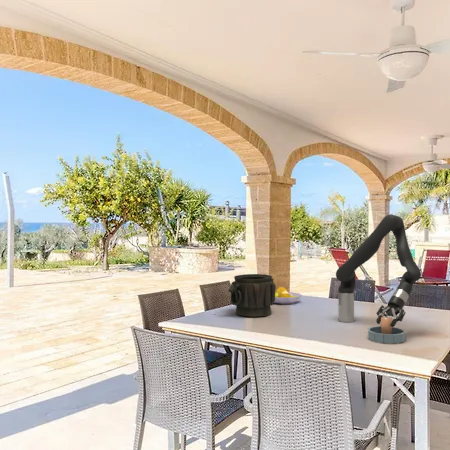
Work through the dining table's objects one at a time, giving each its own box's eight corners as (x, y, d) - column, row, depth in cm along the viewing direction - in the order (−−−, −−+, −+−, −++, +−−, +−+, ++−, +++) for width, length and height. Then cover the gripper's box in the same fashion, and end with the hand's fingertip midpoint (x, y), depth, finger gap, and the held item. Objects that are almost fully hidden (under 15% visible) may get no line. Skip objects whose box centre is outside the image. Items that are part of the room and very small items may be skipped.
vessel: (225, 318, 288) (224, 279, 288) (236, 308, 319) (235, 273, 319) (273, 320, 281) (272, 279, 281) (279, 309, 312) (278, 273, 312)
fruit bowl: (306, 301, 344) (306, 286, 344) (292, 307, 321) (292, 291, 321) (273, 298, 359) (273, 283, 359) (257, 303, 336) (257, 288, 336)
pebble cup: (381, 338, 231) (381, 317, 231) (380, 335, 236) (380, 315, 236) (392, 338, 230) (392, 318, 230) (391, 335, 235) (390, 315, 235)
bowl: (369, 343, 226) (369, 334, 226) (366, 334, 244) (366, 325, 243) (408, 344, 222) (408, 335, 222) (402, 335, 240) (401, 326, 240)
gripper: (383, 293, 243) (369, 317, 237) (407, 297, 231) (392, 322, 225) (390, 302, 246) (376, 326, 239) (413, 306, 234) (399, 331, 227)
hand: (384, 324), depth 232 cm, fingers open, 8 cm apart
